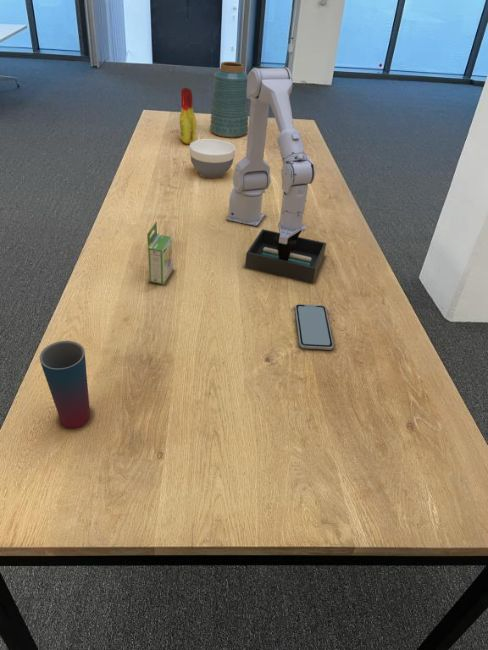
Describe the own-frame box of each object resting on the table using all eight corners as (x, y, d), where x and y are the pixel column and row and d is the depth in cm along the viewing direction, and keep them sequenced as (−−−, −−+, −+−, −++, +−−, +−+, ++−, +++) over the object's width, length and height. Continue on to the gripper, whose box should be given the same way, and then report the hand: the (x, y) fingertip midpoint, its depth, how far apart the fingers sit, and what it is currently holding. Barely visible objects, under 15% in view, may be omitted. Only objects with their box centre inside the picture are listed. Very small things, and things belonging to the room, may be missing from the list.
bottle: (178, 136, 208) (178, 84, 196) (194, 136, 209) (194, 84, 197) (180, 146, 199) (180, 92, 187) (196, 146, 200) (197, 92, 188)
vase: (233, 141, 208) (237, 70, 191) (202, 132, 214) (203, 63, 197) (254, 132, 219) (260, 64, 202) (224, 123, 225) (226, 57, 208)
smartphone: (300, 346, 107) (294, 303, 118) (299, 349, 107) (294, 306, 119) (334, 347, 107) (325, 305, 119) (333, 350, 108) (325, 308, 119)
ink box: (164, 285, 123) (162, 236, 114) (148, 282, 123) (145, 234, 115) (173, 270, 128) (172, 223, 120) (158, 268, 128) (156, 220, 120)
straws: (260, 257, 135) (261, 249, 133) (263, 252, 137) (264, 244, 135) (309, 268, 132) (310, 260, 131) (311, 263, 134) (313, 255, 133)
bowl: (242, 177, 178) (244, 150, 172) (203, 185, 171) (204, 157, 165) (218, 162, 188) (219, 136, 182) (181, 169, 181) (181, 142, 175)
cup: (59, 403, 91) (44, 340, 82) (98, 402, 92) (87, 340, 82) (51, 433, 86) (34, 369, 76) (92, 432, 86) (80, 369, 77)
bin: (245, 267, 132) (246, 252, 129) (260, 243, 142) (262, 228, 139) (312, 283, 128) (315, 268, 125) (323, 257, 138) (326, 242, 136)
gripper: (301, 223, 119) (294, 272, 127) (314, 200, 130) (306, 246, 138) (273, 217, 120) (267, 266, 129) (288, 194, 131) (282, 240, 140)
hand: (286, 255), depth 134 cm, fingers open, 6 cm apart
